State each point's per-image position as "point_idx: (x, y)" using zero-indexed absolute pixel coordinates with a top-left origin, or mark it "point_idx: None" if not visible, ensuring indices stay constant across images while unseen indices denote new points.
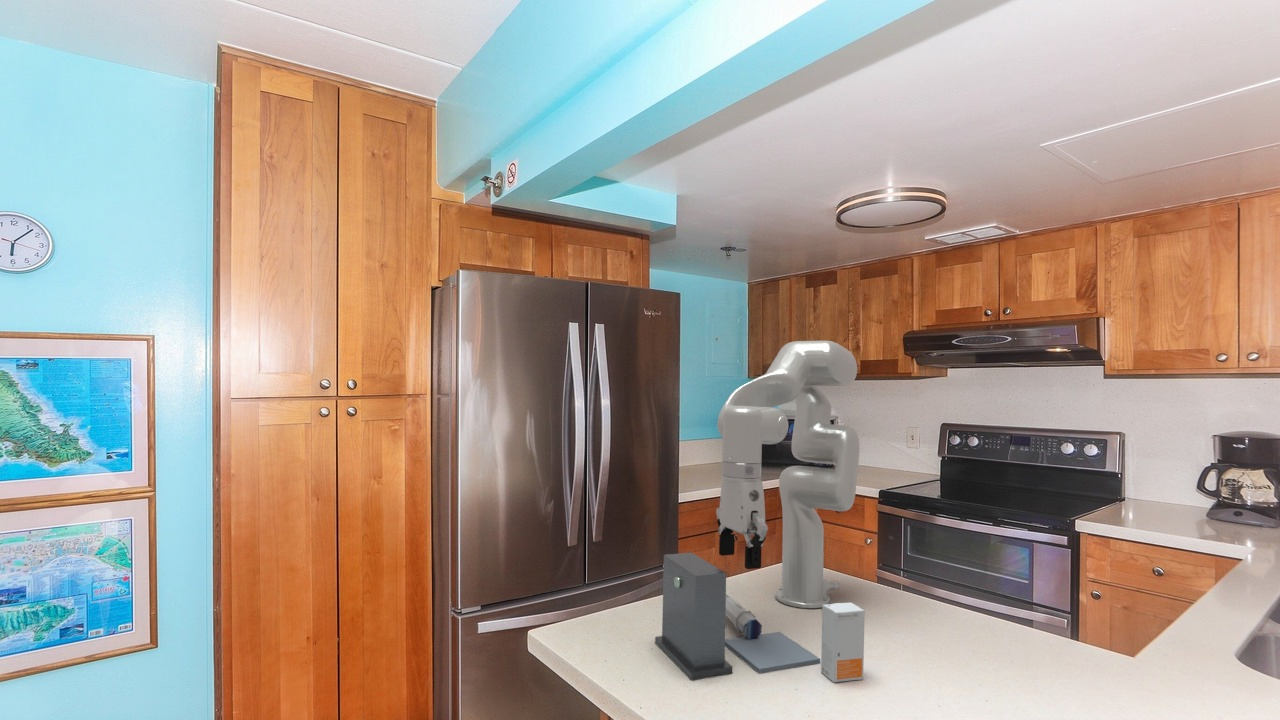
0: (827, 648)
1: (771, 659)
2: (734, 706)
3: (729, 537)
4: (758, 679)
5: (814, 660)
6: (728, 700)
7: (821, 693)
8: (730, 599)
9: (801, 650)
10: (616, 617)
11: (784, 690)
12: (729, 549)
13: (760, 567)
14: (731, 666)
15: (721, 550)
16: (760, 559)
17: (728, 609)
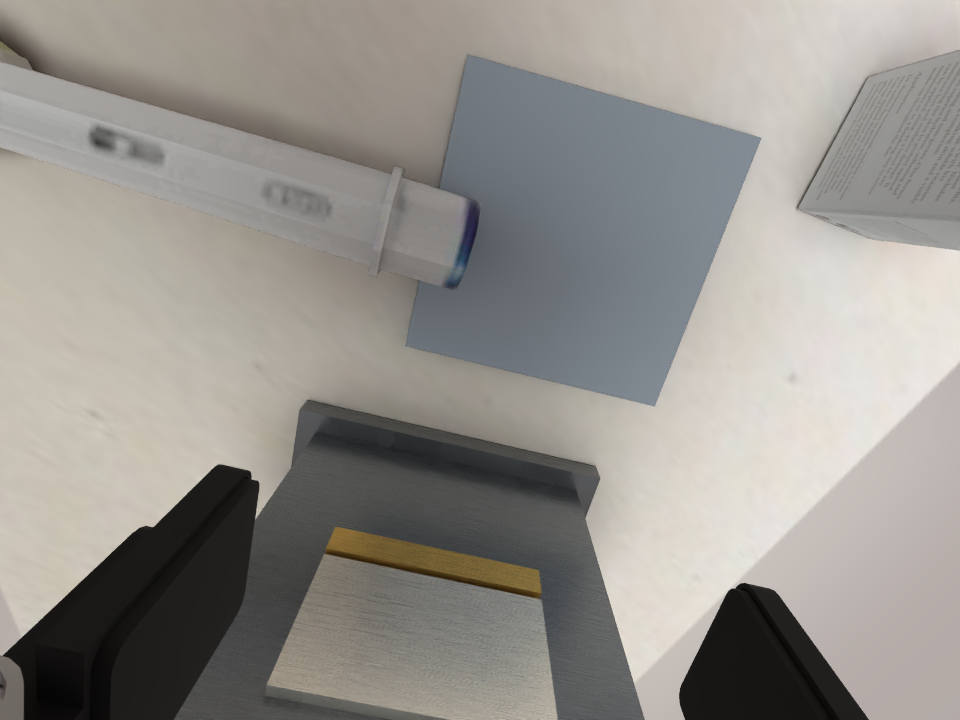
0: (918, 233)
1: (634, 315)
2: (724, 576)
3: (132, 705)
4: (672, 427)
5: (747, 168)
6: (694, 569)
7: (867, 333)
8: (195, 167)
9: (662, 141)
10: (25, 507)
11: (770, 413)
12: (226, 565)
13: (768, 590)
14: (597, 480)
15: (217, 641)
16: (813, 657)
17: (269, 232)
